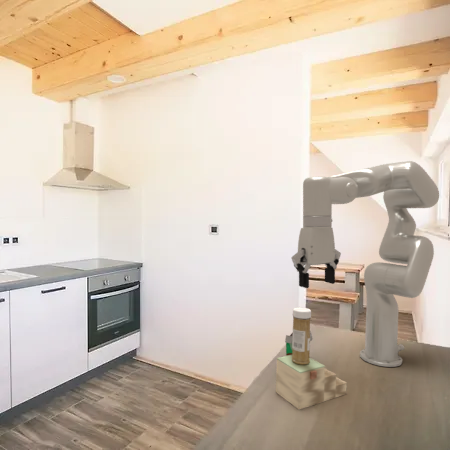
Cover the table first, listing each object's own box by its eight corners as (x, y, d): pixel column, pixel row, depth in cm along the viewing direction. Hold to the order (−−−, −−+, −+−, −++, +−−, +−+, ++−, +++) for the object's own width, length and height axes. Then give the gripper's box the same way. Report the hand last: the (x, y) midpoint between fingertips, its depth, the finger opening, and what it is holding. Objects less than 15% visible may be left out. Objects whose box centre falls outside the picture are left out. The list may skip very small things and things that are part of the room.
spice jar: (313, 363, 85) (315, 309, 85) (300, 366, 83) (302, 312, 83) (300, 356, 89) (301, 305, 89) (287, 360, 87) (289, 307, 87)
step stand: (320, 379, 96) (321, 347, 96) (347, 394, 88) (348, 360, 88) (275, 392, 88) (276, 358, 88) (300, 410, 80) (301, 373, 80)
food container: (304, 373, 99) (305, 339, 99) (284, 368, 103) (285, 335, 102) (316, 359, 110) (317, 328, 110) (298, 354, 113) (299, 325, 113)
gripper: (329, 221, 100) (329, 279, 101) (283, 223, 91) (283, 286, 92) (350, 222, 93) (349, 283, 94) (302, 224, 85) (303, 291, 85)
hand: (317, 284), depth 93 cm, fingers open, 9 cm apart
